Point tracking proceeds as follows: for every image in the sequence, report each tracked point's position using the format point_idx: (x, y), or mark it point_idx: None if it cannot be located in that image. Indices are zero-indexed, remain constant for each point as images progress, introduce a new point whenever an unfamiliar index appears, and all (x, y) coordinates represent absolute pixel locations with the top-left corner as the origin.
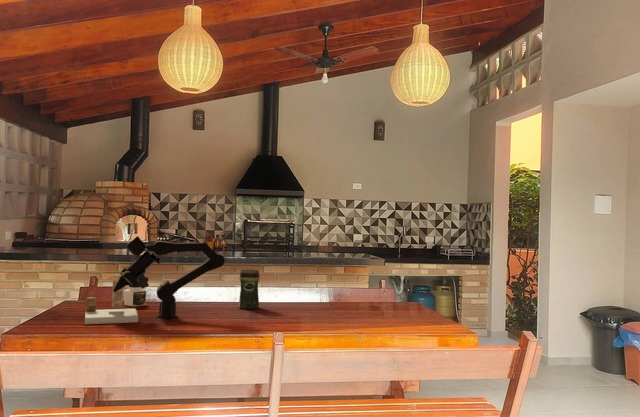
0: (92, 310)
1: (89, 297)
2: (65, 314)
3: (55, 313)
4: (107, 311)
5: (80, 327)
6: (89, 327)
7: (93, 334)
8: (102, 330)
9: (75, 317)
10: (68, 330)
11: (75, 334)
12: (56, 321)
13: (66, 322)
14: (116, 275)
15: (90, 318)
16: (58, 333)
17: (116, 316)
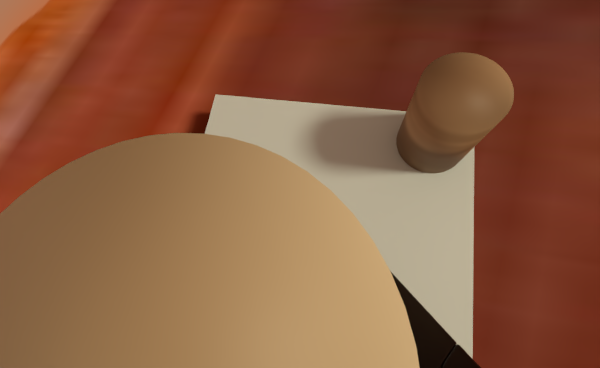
0: (398, 144)
1: (497, 77)
2: (534, 46)
3: (576, 5)
4: (381, 242)
5: (167, 91)
6: (147, 125)
7: (7, 126)
8: (55, 170)
9: None
10: (133, 47)
11: (49, 66)
12: (345, 10)
13: (306, 45)
14: (42, 262)
15: (209, 121)
16: (102, 16)
17: None
